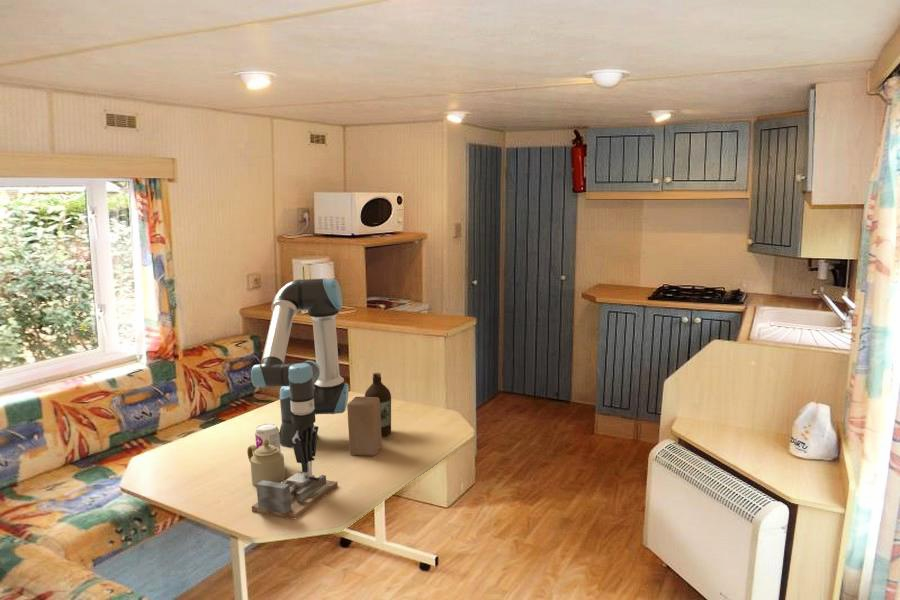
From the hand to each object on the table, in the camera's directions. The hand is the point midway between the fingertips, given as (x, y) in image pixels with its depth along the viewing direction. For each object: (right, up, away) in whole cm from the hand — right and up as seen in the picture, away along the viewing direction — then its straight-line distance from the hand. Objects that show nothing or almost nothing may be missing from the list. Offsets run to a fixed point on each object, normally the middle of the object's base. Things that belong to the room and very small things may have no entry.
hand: (307, 480), depth 223 cm
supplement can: (-18, -1, +20) cm, 27 cm away
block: (+15, +2, +32) cm, 36 cm away
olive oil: (+19, +5, +50) cm, 53 cm away
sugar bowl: (-17, -3, +9) cm, 19 cm away
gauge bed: (-3, -4, -5) cm, 7 cm away
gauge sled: (-1, -3, -6) cm, 7 cm away
